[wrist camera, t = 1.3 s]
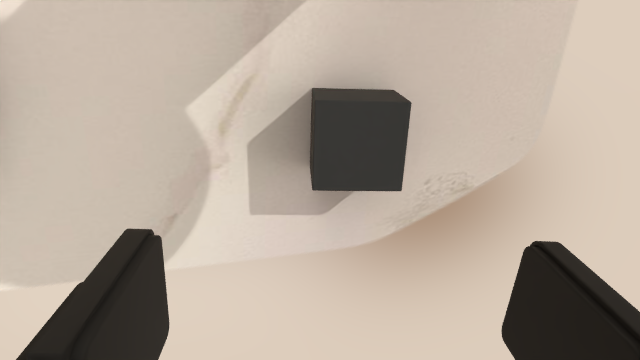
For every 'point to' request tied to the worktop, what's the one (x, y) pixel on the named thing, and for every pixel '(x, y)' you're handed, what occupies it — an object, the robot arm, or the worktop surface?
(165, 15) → the worktop surface
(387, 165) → the block
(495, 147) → the worktop surface
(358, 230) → the worktop surface
